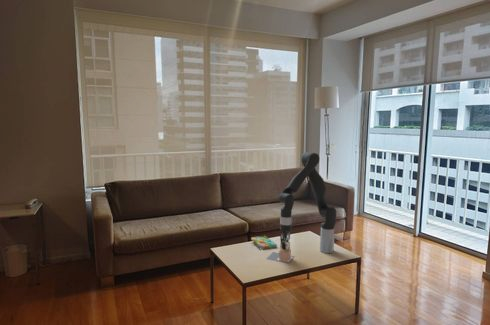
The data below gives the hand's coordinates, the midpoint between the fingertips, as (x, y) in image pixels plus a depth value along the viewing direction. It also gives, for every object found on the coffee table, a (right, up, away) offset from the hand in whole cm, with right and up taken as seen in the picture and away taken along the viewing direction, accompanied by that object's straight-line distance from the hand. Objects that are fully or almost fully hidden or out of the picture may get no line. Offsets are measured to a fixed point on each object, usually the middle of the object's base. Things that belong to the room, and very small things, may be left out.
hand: (285, 247), depth 216 cm
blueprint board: (-3, -9, +2) cm, 9 cm away
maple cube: (0, -2, 0) cm, 1 cm away
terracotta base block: (0, -7, +1) cm, 7 cm away
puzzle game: (-13, -6, +28) cm, 31 cm away
